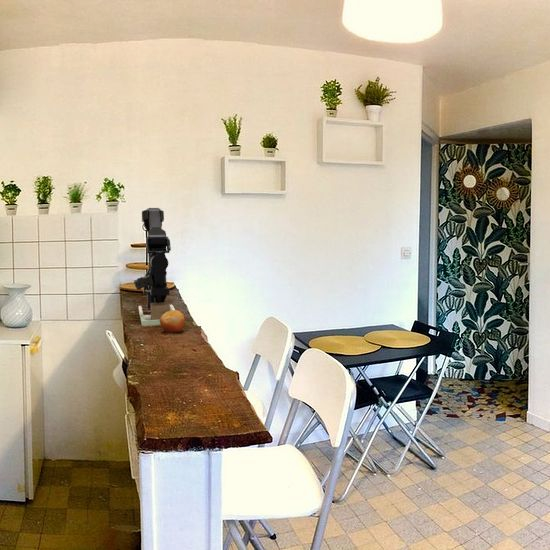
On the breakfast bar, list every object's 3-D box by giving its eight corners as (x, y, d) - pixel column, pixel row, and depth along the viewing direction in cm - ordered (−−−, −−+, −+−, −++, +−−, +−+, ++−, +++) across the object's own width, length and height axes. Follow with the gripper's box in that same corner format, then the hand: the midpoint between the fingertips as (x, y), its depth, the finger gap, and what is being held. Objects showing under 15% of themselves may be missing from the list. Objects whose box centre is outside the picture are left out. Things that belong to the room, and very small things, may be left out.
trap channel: (138, 312, 201) (138, 306, 201) (172, 310, 205) (172, 304, 205) (142, 328, 173) (141, 321, 172) (180, 325, 177) (180, 319, 176)
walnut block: (150, 319, 183) (150, 302, 182) (167, 318, 185) (167, 302, 184) (151, 322, 177) (151, 305, 177) (169, 321, 179) (169, 304, 179)
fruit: (189, 323, 173) (185, 306, 168) (184, 340, 167) (180, 322, 162) (166, 323, 174) (162, 305, 169) (160, 339, 168) (155, 321, 163)
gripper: (133, 266, 190) (135, 307, 192) (135, 272, 173) (136, 317, 175) (164, 265, 194) (165, 306, 195) (169, 271, 176) (169, 315, 178)
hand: (158, 311), depth 186 cm, fingers closed
